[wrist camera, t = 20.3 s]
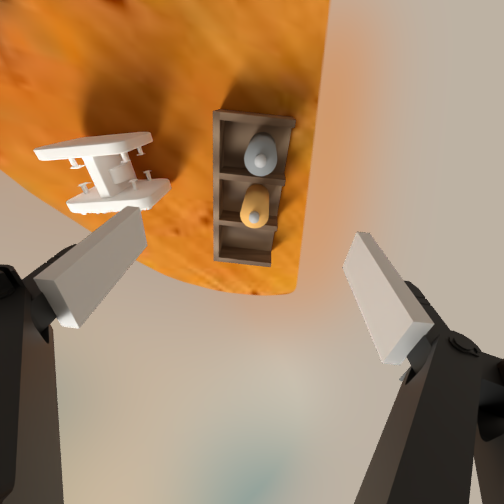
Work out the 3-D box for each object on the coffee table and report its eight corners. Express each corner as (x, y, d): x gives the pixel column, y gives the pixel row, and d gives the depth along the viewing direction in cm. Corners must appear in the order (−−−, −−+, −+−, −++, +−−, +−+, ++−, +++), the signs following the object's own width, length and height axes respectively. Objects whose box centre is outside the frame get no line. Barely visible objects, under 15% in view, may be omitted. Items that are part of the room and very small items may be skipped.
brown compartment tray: (220, 109, 38) (212, 111, 33) (292, 117, 38) (295, 120, 33) (218, 246, 53) (213, 260, 48) (270, 251, 53) (270, 267, 48)
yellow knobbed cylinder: (244, 205, 46) (238, 229, 37) (246, 182, 43) (240, 202, 35) (267, 208, 46) (266, 233, 37) (270, 185, 43) (270, 207, 35)
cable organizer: (159, 128, 40) (124, 139, 31) (176, 188, 46) (151, 212, 36) (81, 136, 42) (24, 149, 32) (106, 192, 48) (65, 217, 38)
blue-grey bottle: (248, 160, 41) (243, 177, 32) (249, 131, 38) (243, 142, 30) (274, 161, 41) (275, 179, 32) (277, 132, 38) (279, 144, 30)
